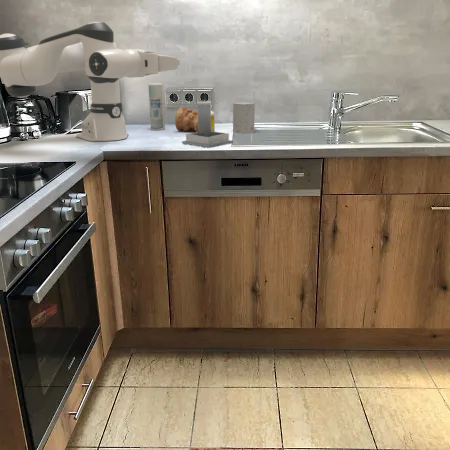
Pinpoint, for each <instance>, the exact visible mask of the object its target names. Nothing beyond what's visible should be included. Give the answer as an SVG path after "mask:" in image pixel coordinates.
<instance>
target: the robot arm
mask: <svg viewBox="0 0 450 450" xmlns="http://www.w3.org/2000/svg"><path fill="white" fill-rule="evenodd" d="M114 36H115V35H114V30H113V29H112V28H111V27H110V26H109V25H108V23H106V22H104V21H103V22H101V21H92V22H89V23H87V24H85V25H82V26H79V27H76V28H73V29H70V30H67V31H63V32H60V33H57V34H54V35H50V36H48V37H46V38H43V39H42V40H40V41H39V43H38V44H36V45H32V46H29V47H27V48H26V46H28V45H29V43H28V42H26V41H25V40H24V39H23V37H21V36H19V35H17V34H14V33H2V34H0V76H1V79H2V80H3V83H4V86H5V90H6V92H7V93H8V95H10V96H11V97H13V98H20V99H21V98H22V99H23V98H27V97H29V96H31V95H34V93H35V92H36V87H38V86H44V85H48V84H50V83H52V82H53V80H54V79H55V78H56V76H57V74H61V73H67V72H69V73H70V72H74V71H75V72H76V71H81V70H85V73H86V77H87V78H88V79H89V80H90V90H91V101H92V102H91V103H90V106H88V108H90V109H89V111H90V113H88V115H87V117H85V119H83V120H82V121H81V132H80V133H76V136H75V137H76V138H80V139H82V140H86V141H89V142H98V141H100V142H102V141H103V142H108V141H109V142H110V141H119V140H124V139H127V138H128V137H129V133H128V132H127V128H126V120H125V117H124V115H123V113H122V112H123V103H122V102H121V88H120V79H122V78H125V77H126V78H131V79H133V78H144V77H146V76H149V75H157V74H159V73H160V72H161V73H162V72H167V71H173V70H176V69H178V68H179V67H178V66H180V59H178V58H177V57H176V56H172V55H165V54H158V53H157V52H154V51H153V52H151V51H147V50H145V49H142V48H126V49H121V48H118V46H117V44H116V42H115V41H114Z"/></svg>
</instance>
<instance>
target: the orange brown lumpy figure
mask: <svg viewBox="0 0 450 450" xmlns="http://www.w3.org/2000/svg"><path fill="white" fill-rule="evenodd" d="M174 123H175V124H174V125H175V129H176V131H179V132H180V131H181V132H182V131H187V132H194V131H195V132H198V113H197V111H196V109H191V108H186V107H185V106H180V107H179V108H178V110H177V111H176V114H175V118H174Z"/></svg>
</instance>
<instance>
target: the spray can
mask: <svg viewBox="0 0 450 450" xmlns="http://www.w3.org/2000/svg"><path fill="white" fill-rule="evenodd" d="M147 86H148V102H149V103H148V104H149V119H150V130H151V131H155V132H156V131H157V132H159V131H164V130H165V129H166V127H165V126H166V125H165V99H164V98H165V96H164V83H148V84H147Z"/></svg>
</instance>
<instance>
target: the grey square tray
mask: <svg viewBox="0 0 450 450" xmlns="http://www.w3.org/2000/svg"><path fill="white" fill-rule="evenodd" d="M185 136H186V137H185V139H186V140H182V141H181V144H182V143H183V145H188V144H189V146H194V145H195V146H196V147H200V146H201V148H206V147H207V148H206V149H210V148H215V147H219V146H223V145H224V146H225V145H229V144H233V143H234V141H233V140H230V137H229V136H230V133H228V132H227V133H226V132H219V131H215V132H214V131H211V136H210V137H206V136H199V135H198V132H196V131H195V132H192V133H191V132H190V133H186V135H185ZM195 146H194V147H195Z"/></svg>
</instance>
